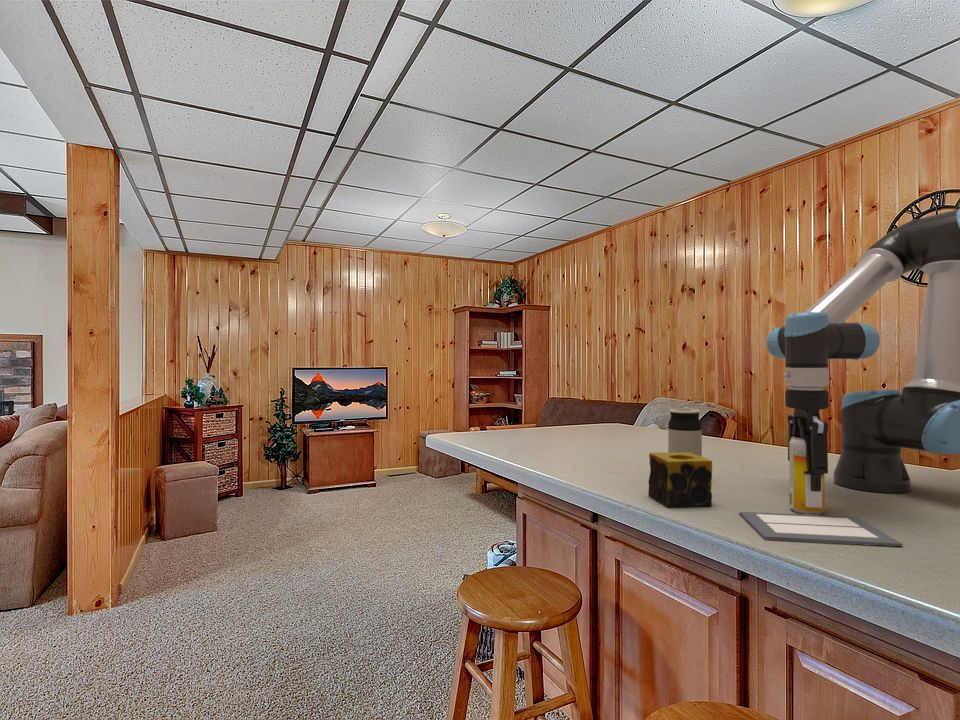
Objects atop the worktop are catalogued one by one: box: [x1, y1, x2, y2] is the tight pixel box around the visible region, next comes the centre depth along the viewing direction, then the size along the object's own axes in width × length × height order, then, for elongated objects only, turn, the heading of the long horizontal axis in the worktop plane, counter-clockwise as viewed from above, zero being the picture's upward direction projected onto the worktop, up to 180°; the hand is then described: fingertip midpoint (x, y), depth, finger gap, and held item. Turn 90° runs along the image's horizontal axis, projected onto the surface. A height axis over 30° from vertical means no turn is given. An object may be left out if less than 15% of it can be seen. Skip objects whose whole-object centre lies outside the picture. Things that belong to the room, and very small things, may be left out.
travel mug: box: [667, 408, 703, 457], centre depth 136 cm, size 8×8×18 cm
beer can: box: [788, 436, 826, 515], centre depth 108 cm, size 6×6×15 cm
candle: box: [648, 452, 713, 509], centre depth 117 cm, size 10×10×10 cm
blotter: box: [738, 511, 903, 548], centre depth 97 cm, size 21×15×1 cm
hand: (806, 502), depth 108 cm, fingers closed on beer can, 6 cm apart
